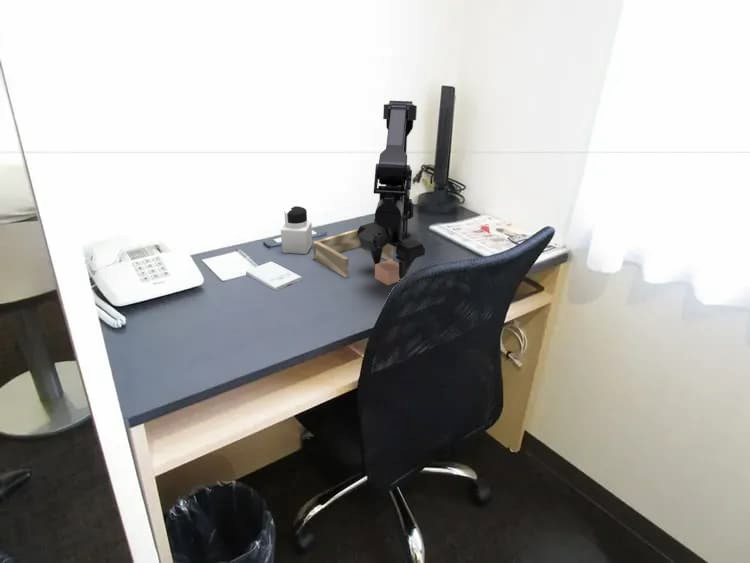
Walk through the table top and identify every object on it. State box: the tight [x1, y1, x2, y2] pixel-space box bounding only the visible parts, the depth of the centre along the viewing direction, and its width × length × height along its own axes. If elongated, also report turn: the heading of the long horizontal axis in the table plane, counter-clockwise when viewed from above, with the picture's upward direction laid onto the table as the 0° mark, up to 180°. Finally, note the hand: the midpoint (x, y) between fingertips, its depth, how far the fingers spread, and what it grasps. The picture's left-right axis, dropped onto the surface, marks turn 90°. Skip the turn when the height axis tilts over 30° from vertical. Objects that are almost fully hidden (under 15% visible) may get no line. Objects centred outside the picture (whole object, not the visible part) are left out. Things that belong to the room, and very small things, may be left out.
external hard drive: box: [245, 261, 303, 292], centre depth 121 cm, size 2×8×12 cm
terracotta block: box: [374, 259, 401, 286], centre depth 121 cm, size 5×5×4 cm
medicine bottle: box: [280, 205, 313, 255], centre depth 134 cm, size 7×7×12 cm
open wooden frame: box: [312, 228, 394, 278], centre depth 130 cm, size 16×14×5 cm
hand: (388, 271), depth 121 cm, fingers open, 9 cm apart
